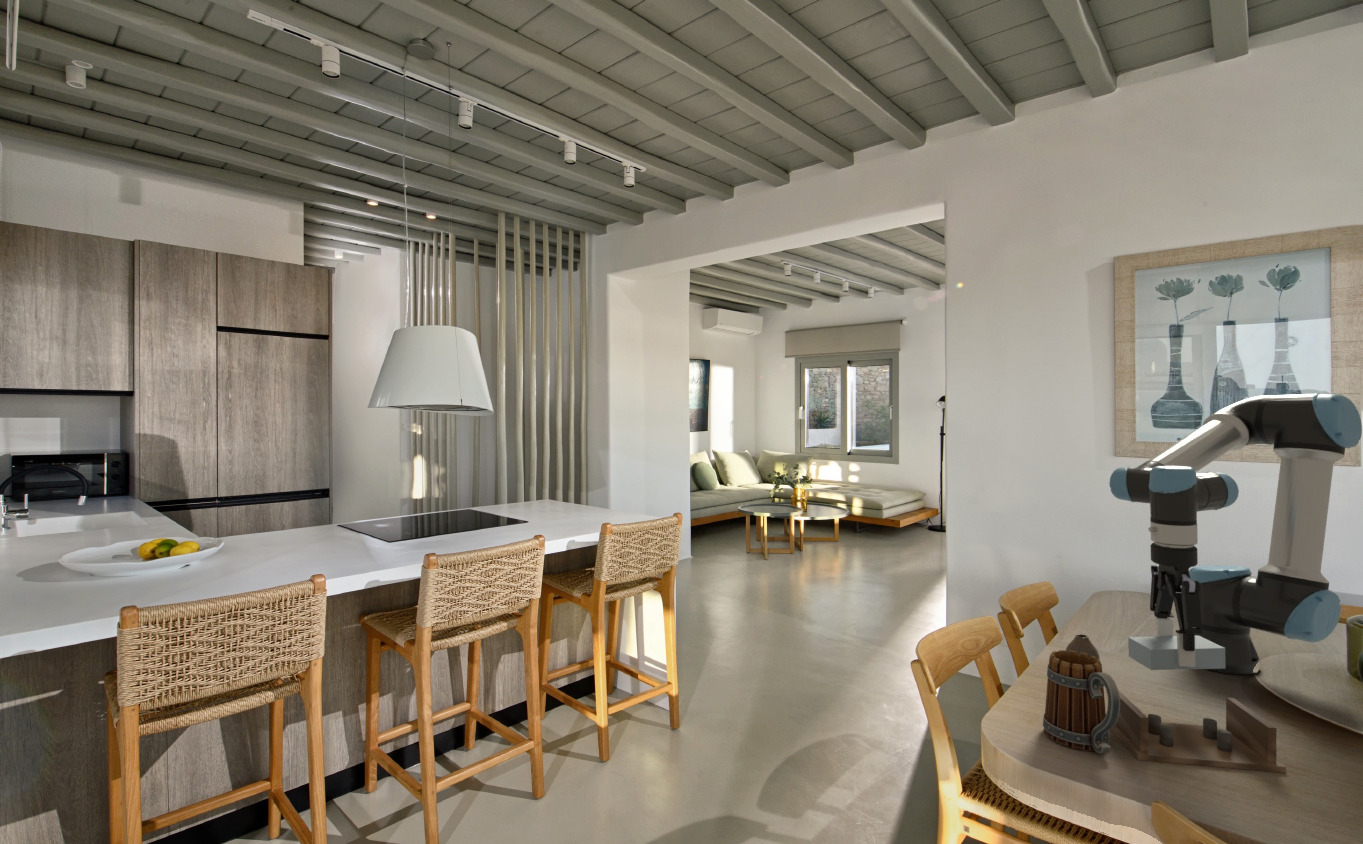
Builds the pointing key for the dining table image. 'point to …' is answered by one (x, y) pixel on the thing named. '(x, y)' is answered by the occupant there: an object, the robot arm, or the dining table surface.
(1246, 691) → the dining table surface
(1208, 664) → the board
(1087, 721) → the mug
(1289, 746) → the dining table surface
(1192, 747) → the peg frame
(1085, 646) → the vase
